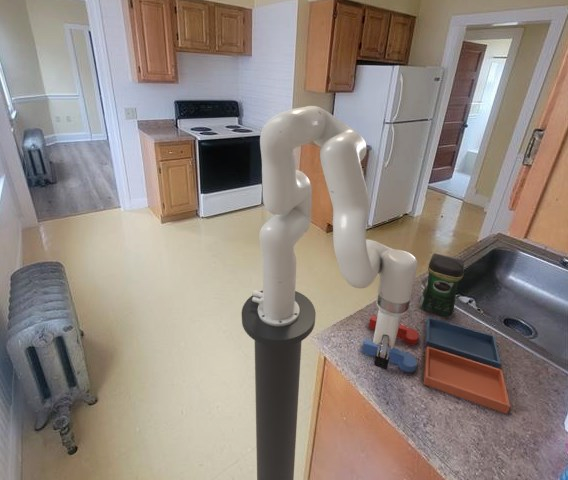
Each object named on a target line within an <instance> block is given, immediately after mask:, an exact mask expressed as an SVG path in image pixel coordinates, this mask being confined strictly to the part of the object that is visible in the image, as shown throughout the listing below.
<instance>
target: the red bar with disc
mask: <svg viewBox="0 0 568 480" xmlns="http://www.w3.org/2000/svg"><path fill="white" fill-rule="evenodd" d="M376 321H377V316H375V315H370V317H369V322H368V329H369V330H373V331H375V327H376ZM396 338H399V339H401V340H402V341H403V342H404V343H405V344H406V345H410V346H414V345H417V343H418V341H419V338H420V335H419V332H418V331H417V330H415V329H414V328H411V327H408V325H405V324H402V323H400V324H399V329H398V333H397V336H396Z"/></svg>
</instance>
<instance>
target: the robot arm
mask: <svg viewBox="0 0 568 480" xmlns="http://www.w3.org/2000/svg"><path fill="white" fill-rule="evenodd" d="M310 143H313V144H315V145H317V146H318V147H319V148H320V150H319V161H320V165H321V169H322V173H323V176H324V179H325V183H326V187H327V191H328V194H329V198H330V201H331V206H332V210H333V213H332V238H333V239H332V240H333V249H334V254H335V258H336V261H337V265H338V268H339V272H340V274H341V275H342V278H343V280H345V282H346V283H347V284H348V285H349V286H351V287H353V288H355V289H366V288H368V287H370V286H371V285H372V284H373V283H374V282H375V280H376V278H377V276H378V274H379V280H378V287H377V291H376V292H377V293H376V299H375V304H376V306H377V307H378V310H377V316H376V317H377V321H376V327H375V330H374V334H373V339H372V341H373V343H374V344H376V345H378V344H379V345H378V350H377V352H376V355H375V357H374V362H373V366H375V367H377V368H380V369H382V370H388V368H389V363H390V362H389V351H390V349H392V348H394V347H395V343H396V339H397V337H396V336H397V333H398V329H399V324H401V319H402V316H403V315H405V314H407V313H408V311H409V310H410V309H409V308H410V304H411V300H412V299H411V298H412V294H413V289H414V285H415V280H416V275H417V269H418V260H417V258H416V257H415V256H414V255H413V254H411V253H410V252H408V251H406V250H402V249H393V248H392V247H390V246H387V245H385V244H383V243H380V242H378V241H376V240H373V239H367V237H366V236H367V235H366V234H367V223H368V218H369V213H370V208H371V207H370V206H371V198H370V195H369V191H368V187H367V183H366V178H365V176H364V171H363V167H362V161H363V160H364V159H365V157H366V155H367V143H366V140H365V139H364V138H363V136H362V135H361V134H360V133H358V132H357V130H355V129H353V128H352V127H350V126H349V125H347V124H346V123H345V122H343V121H342V120H340V119H338V118H337V117H336V116H335V115H333V114H332V113H330V112H329V111H327V110H325V109H323V108H322V107H319V106H317V105H307V106H302V107H295V108H291V109H288V110H287V109H286V110H285V111H281V112H279V113H277V114H276V115H273V116H272V117H271V118H269V119H268V120H267V121H266V122H265V124H264V125H263V127H262V129H261V132H260V137H259V148H260V155H261V156H260V157H261V180H262V182H261V183H262V184H261V186H262V201H263V205H264V208H265V209H266V211H267V212H269V213H270V214H272V215H274V216H272V217H270V218H269V219H268V220H267V221H265V223H263V225H262V226H261V228H260V231H259V234H258V240H259V245H260V249H261V256H262V257H261V258H262V290H263V293H261V292H260V291H259V290H256V289H254V290H253V291H252V294H251V296H254V297H253V298H252V301H254V302H257V303H259V306H258V315H259V317H260V319H261V320H262V321H263V322H265V323H266V324H269V325H272V326H286V325H289V324H291V323H293V322H294V321H295V320H296V319H297V318H298V316H299V311H300V310H299V305H298V304H297V302H296V301H295V291H296V283H297V256H296V254H295V251H294V250H295V245H296V244H297V243H298V241H299V240H301V239H302V237H303V236H305V235H306V233H307V232H308V231H309V229H310V228H311V227H310V226H311V222H312V200H313V199H312V197H313V196H312V195H313V194H312V193H313V192H312V191H313V189H312V184H311V181H310V179H309V178H308V176H307V175H306V174H305V173H304V172H303V171H301V170H299V169H297V160H296V155H295V152H294V149H296V148H299V147H302V146H305V145H307V144H310ZM256 297H257V298H256ZM258 298H260V299H258ZM380 346H381V351H380ZM387 348H388V350H387V354H386V349H387Z"/></svg>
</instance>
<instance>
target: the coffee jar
mask: <svg viewBox="0 0 568 480" xmlns="http://www.w3.org/2000/svg"><path fill="white" fill-rule="evenodd" d="M464 268H465V263H464V260H463V259H460V258H457V257H453V256H449V255H444V254H439V253H435V252H434V253H433V254H432V256H431V258H430V260H429V262H428V265H427V270H428V275H427V279H426V283H425V286H424V289H423V291H422V294H421V297H420V307H421V308H422V310H424V311H425V312H427V313H429V314H433V315H436V316H440V317H444V318H448V317H452V315H454V311H455V303H456V298H457V296H456V295H457V289H458V285H459V282H460V281H461V280H462V279H463V277H464V272H465V271H464V270H465V269H464Z"/></svg>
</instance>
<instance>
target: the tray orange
mask: <svg viewBox="0 0 568 480" xmlns="http://www.w3.org/2000/svg"><path fill="white" fill-rule="evenodd" d="M423 364H424V365H423V385H424V386H427V387H430V388H433V389H436V390H438V391H442V392H444V393H447V394H450V395H452V396H455V397H458V398H461V399H463V400H466V401H469V402H472V403H475V404H478V405H480V406H484V407H486V408H489V409H492V410H495V411H498V412H499V413H503V414H506V415H507V414H508V413H509V411H510V408H511V403H510V399H509V395H508V391H507V385H506V380H505V376H504V371H503V369H501V368H499V369H498V368H495V367H492V366H489V365H485V364H482V363H479V362H476V361H473V360H470V359H466V358H463V357H460V356H457V355H454V354H450V353H447V352H444V351H441V350H438V349H434V348H431V347H428V346H427V347H426V348H425V352H424V363H423Z"/></svg>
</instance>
